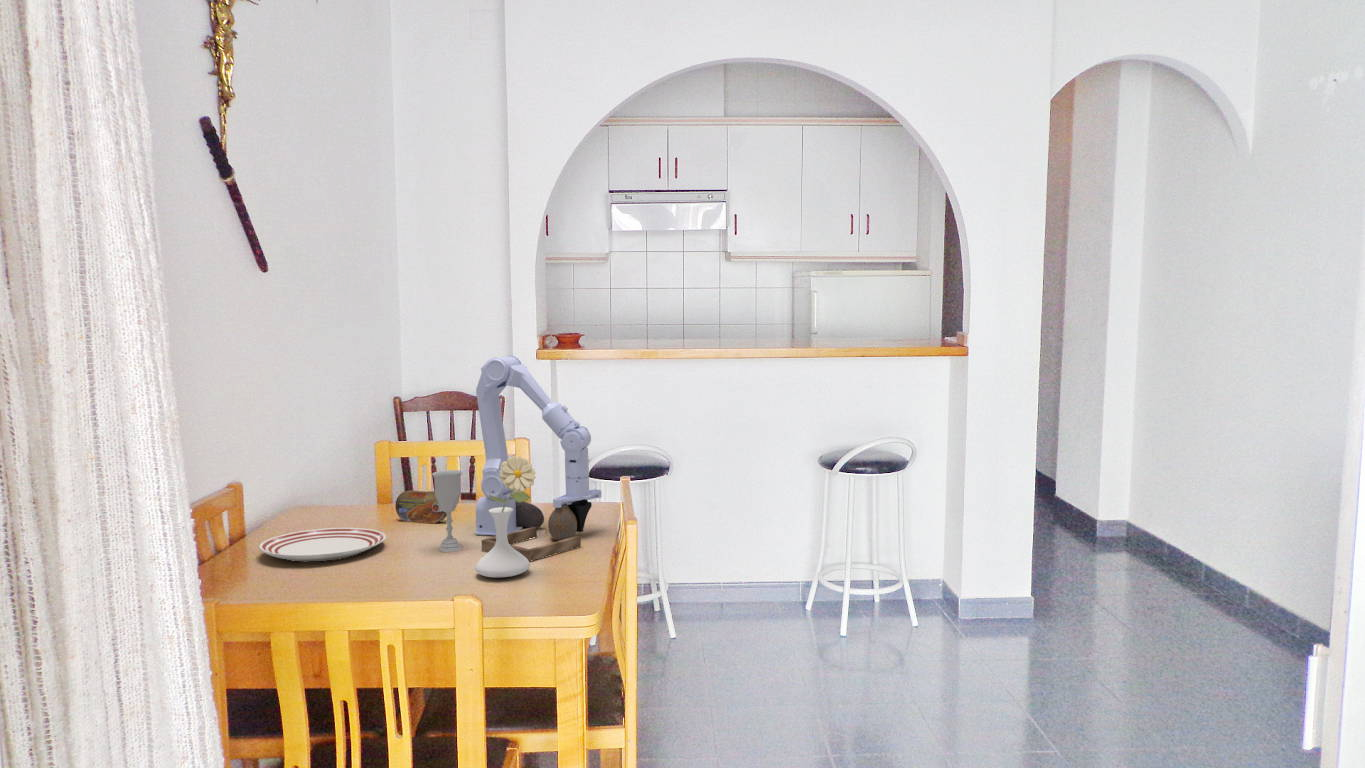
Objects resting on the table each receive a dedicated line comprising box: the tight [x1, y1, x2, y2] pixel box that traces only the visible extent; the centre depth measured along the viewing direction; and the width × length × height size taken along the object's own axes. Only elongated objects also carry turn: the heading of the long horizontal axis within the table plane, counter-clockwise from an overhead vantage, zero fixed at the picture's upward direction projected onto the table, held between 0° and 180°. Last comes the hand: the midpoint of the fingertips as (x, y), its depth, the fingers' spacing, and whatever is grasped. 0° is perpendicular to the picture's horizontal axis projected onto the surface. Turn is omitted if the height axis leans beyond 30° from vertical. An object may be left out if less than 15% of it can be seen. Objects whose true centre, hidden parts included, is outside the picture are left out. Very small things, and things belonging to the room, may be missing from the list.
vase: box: [547, 504, 577, 542], centre depth 220 cm, size 7×7×9 cm
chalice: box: [431, 469, 463, 553], centre depth 213 cm, size 7×7×18 cm
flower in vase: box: [474, 455, 536, 579], centre depth 192 cm, size 13×11×25 cm
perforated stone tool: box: [516, 501, 545, 529], centre depth 234 cm, size 15×5×7 cm, turn 60°
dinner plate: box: [258, 527, 387, 562], centre depth 213 cm, size 27×27×3 cm
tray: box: [481, 527, 582, 561], centre depth 212 cm, size 16×16×2 cm
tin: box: [394, 490, 447, 524], centre depth 242 cm, size 15×3×8 cm, turn 73°
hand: (578, 531), depth 224 cm, fingers closed
